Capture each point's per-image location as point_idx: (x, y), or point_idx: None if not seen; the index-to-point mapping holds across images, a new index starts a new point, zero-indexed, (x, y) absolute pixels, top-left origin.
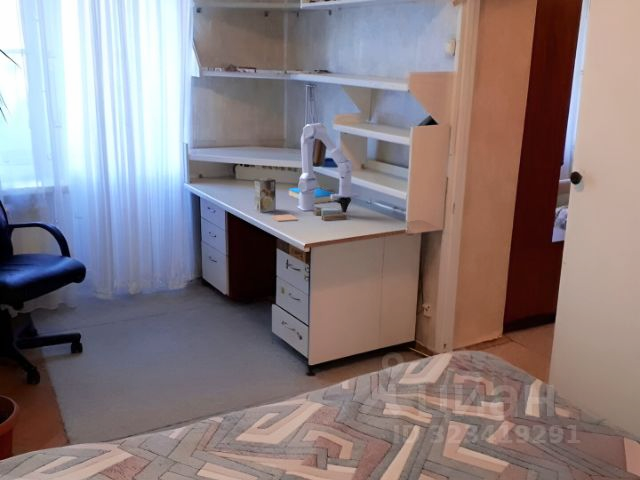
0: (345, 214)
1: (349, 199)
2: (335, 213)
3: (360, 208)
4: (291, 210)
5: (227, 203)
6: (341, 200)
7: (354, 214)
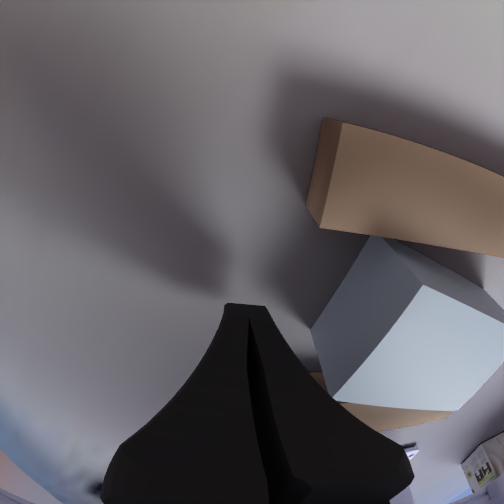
0: (340, 168)
1: (178, 495)
2: (432, 272)
3: (16, 403)
4: (440, 451)
5: None
6: (408, 470)
7: (91, 295)
